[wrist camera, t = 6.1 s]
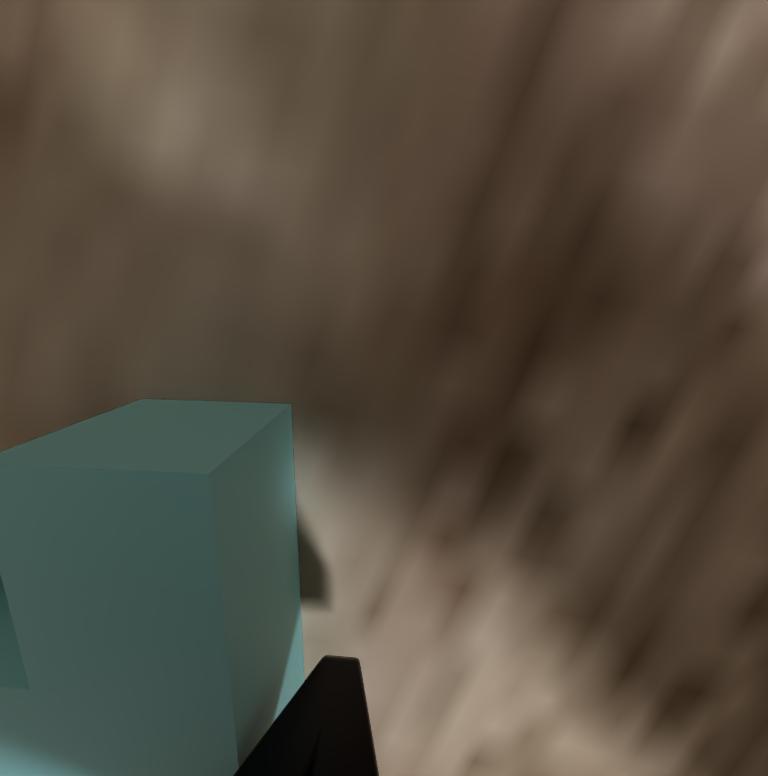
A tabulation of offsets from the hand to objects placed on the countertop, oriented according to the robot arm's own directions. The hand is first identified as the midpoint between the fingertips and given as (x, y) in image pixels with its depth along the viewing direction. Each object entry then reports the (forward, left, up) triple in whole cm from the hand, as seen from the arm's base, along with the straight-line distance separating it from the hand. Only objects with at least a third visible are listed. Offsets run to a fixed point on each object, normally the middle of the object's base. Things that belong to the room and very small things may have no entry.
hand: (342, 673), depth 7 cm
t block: (+5, 0, -1) cm, 5 cm away
